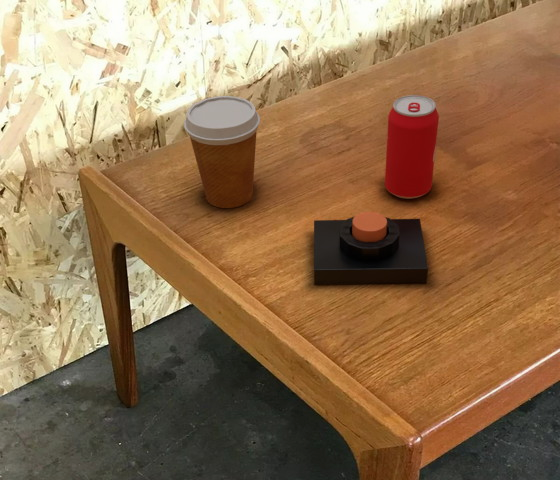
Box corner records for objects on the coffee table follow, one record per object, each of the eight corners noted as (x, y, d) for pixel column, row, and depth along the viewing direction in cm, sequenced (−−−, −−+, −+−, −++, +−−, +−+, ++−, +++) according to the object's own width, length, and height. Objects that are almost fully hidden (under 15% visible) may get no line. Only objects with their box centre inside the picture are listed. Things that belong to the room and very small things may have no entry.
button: (385, 223, 94) (386, 211, 93) (387, 243, 92) (388, 230, 90) (351, 224, 95) (351, 211, 93) (352, 243, 92) (353, 231, 91)
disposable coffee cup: (254, 171, 111) (248, 89, 102) (273, 207, 104) (268, 122, 96) (187, 184, 109) (176, 101, 101) (202, 221, 103) (191, 136, 94)
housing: (418, 233, 99) (421, 205, 96) (426, 283, 92) (429, 255, 89) (314, 234, 99) (313, 207, 97) (314, 284, 92) (313, 257, 90)
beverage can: (432, 178, 108) (441, 93, 99) (430, 203, 103) (439, 117, 95) (386, 175, 109) (391, 91, 100) (382, 200, 104) (387, 115, 96)
